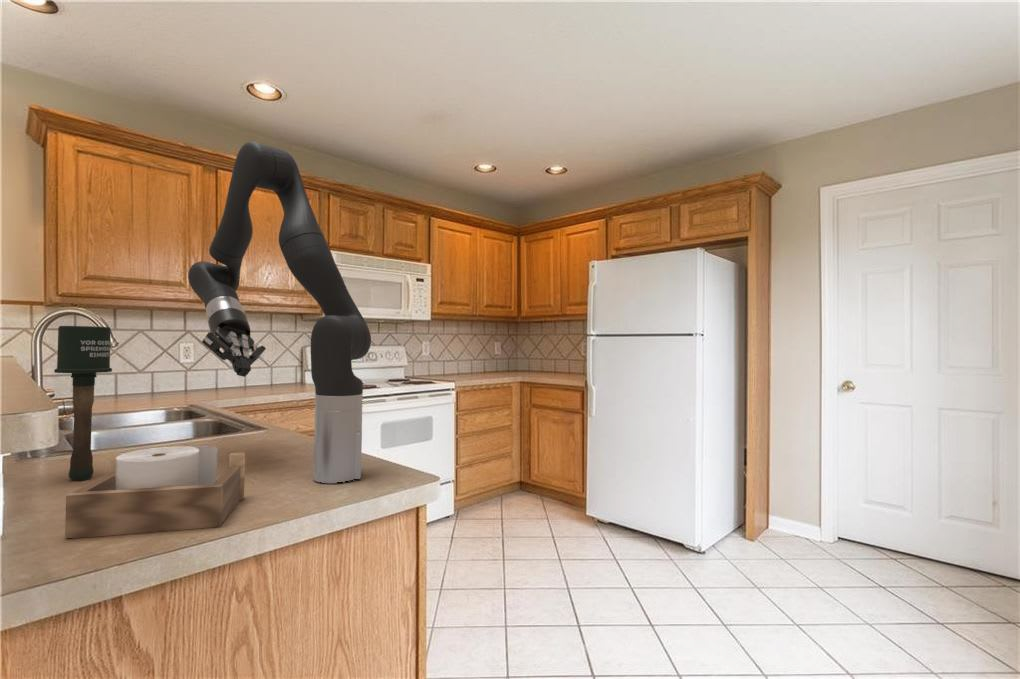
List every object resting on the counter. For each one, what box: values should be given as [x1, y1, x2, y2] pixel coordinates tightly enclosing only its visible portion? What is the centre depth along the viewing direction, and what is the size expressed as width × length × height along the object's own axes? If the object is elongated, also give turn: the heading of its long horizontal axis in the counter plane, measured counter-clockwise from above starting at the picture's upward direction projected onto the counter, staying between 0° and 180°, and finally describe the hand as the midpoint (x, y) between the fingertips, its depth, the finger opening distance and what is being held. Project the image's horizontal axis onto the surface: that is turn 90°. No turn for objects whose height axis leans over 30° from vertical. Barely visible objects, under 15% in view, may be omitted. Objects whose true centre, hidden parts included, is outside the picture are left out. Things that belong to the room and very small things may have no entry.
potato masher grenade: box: [54, 325, 113, 482], centre depth 96 cm, size 8×9×30 cm
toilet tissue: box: [115, 445, 219, 490], centre depth 77 cm, size 11×12×10 cm
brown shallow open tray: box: [64, 451, 246, 540], centre depth 77 cm, size 20×14×8 cm
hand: (243, 373), depth 99 cm, fingers closed
